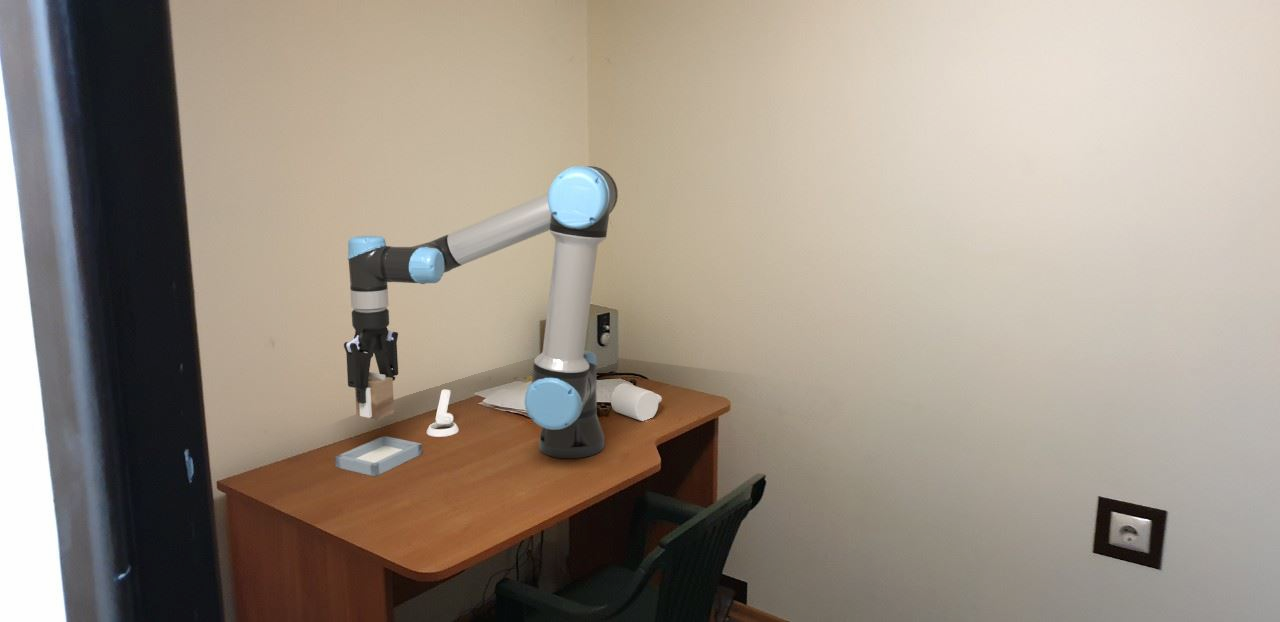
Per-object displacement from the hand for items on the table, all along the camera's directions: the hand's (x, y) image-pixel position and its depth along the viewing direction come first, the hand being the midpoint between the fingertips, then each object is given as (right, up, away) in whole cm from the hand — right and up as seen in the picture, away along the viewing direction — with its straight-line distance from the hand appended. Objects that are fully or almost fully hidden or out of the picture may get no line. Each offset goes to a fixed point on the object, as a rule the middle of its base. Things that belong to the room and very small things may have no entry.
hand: (375, 412), depth 169 cm
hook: (+9, -8, +21) cm, 24 cm away
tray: (0, -11, +2) cm, 11 cm away
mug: (+58, -5, +33) cm, 67 cm away
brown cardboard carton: (0, 0, 0) cm, 0 cm away
